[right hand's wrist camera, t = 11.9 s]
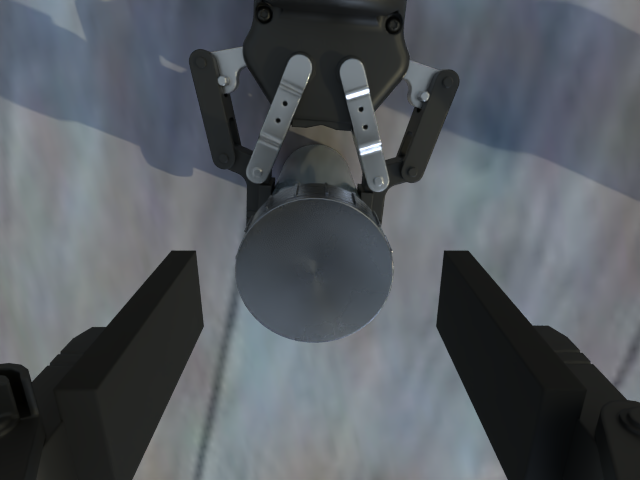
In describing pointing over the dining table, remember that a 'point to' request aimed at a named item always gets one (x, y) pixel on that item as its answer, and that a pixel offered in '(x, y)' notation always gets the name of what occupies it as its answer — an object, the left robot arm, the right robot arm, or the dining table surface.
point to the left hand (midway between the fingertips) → (312, 244)
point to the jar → (315, 169)
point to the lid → (314, 263)
